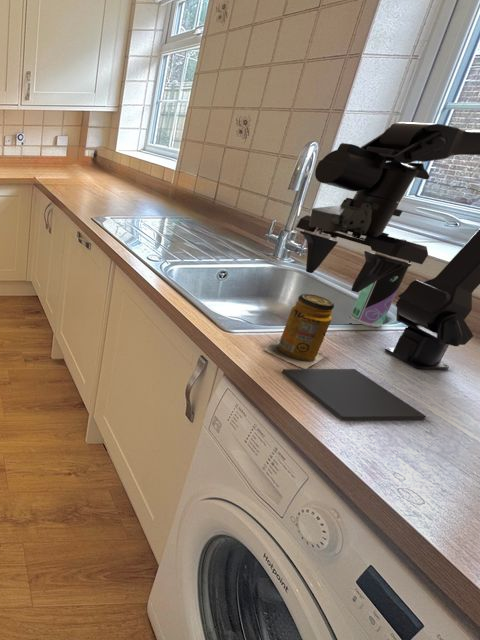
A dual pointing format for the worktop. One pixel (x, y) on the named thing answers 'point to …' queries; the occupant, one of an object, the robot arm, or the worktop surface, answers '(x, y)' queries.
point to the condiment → (304, 331)
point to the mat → (351, 395)
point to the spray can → (377, 298)
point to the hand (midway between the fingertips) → (330, 281)
